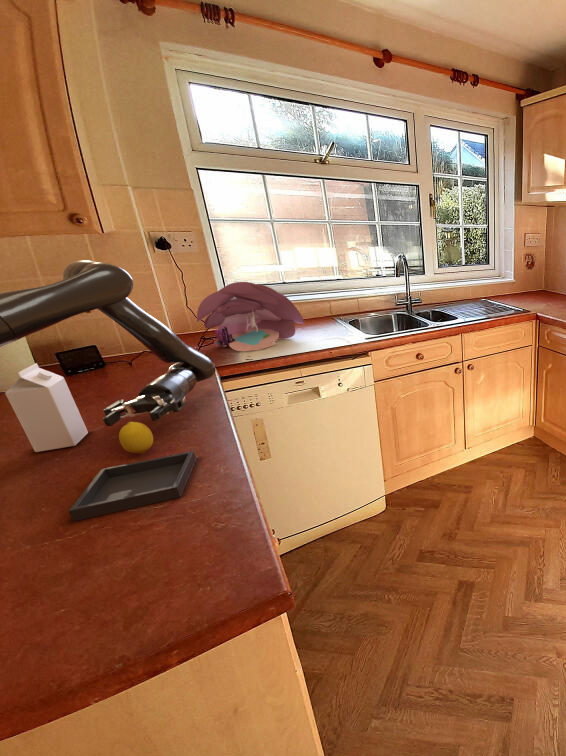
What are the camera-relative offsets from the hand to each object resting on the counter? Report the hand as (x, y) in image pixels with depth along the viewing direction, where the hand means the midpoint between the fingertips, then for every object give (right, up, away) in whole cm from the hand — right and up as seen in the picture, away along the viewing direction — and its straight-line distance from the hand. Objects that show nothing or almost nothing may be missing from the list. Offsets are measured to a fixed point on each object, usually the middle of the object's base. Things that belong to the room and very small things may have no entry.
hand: (130, 419), depth 92 cm
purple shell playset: (-23, +24, +84) cm, 91 cm away
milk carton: (-23, -6, +8) cm, 26 cm away
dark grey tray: (+11, -13, -9) cm, 19 cm away
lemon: (0, -8, +3) cm, 9 cm away
